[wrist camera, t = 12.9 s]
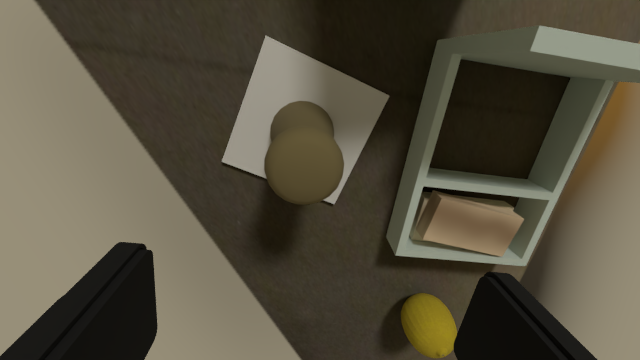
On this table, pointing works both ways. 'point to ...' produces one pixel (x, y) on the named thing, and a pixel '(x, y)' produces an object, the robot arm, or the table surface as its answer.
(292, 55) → the mat
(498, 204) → the offcut lower
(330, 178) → the cork
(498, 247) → the offcut upper
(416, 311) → the lemon
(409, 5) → the table surface
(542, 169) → the rack
